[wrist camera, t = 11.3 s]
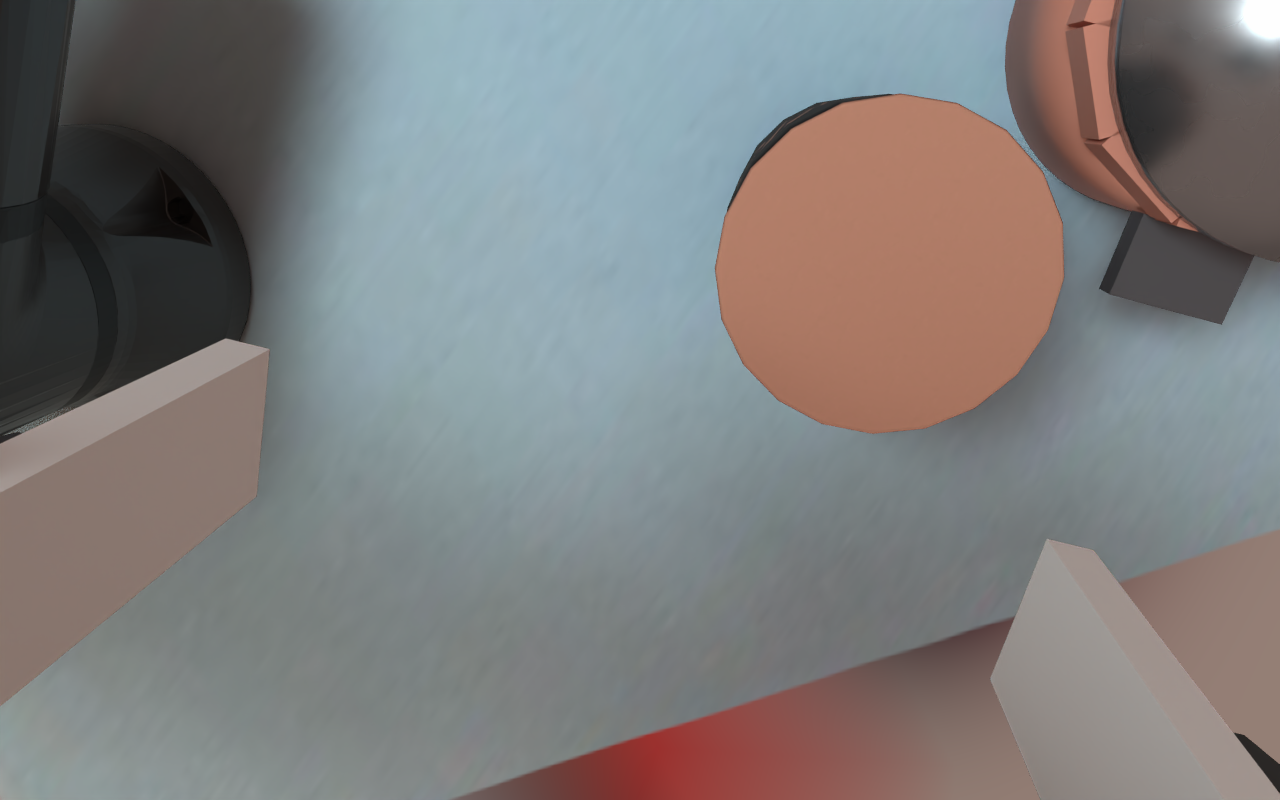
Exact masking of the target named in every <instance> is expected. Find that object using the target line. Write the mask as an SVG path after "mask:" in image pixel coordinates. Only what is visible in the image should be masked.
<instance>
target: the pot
mask: <svg viewBox="0 0 1280 800" xmlns="http://www.w3.org/2000/svg"><path fill="white" fill-rule="evenodd" d="M1114 3H1115V0H1016V1H1015V5H1014V8H1013V12H1012V15H1011V19H1010V22H1009V29H1008V35H1007V41H1006V55H1005V72H1006V82H1007V91H1008V95H1009V99H1010V103H1011V107H1012V111H1013V114H1014V116H1015V119H1016V121H1017V124H1018V126H1019V129H1020V131H1021V133H1022V135H1023V136H1024V138H1025V140H1026V142H1027V143H1028V145H1029V147H1030V148H1031V150H1032V151H1033V152H1034V153H1035V155H1036V156H1037V157H1038V159H1039V160H1040V161H1041V162H1042V164H1043V165H1044V166H1045V167H1046V168H1048V169H1049V170H1050V171H1051V172H1052V173H1053V174H1054V175H1055V176H1056V177H1057V178H1058V179H1060V180H1061V181H1063V182H1064V183H1065V184H1067V185H1068V186H1070V187H1071V188H1073V189H1074V190H1076V191H1078V192H1080V193H1082V194H1084V195H1086V196H1088V197H1090V198H1092V199H1094V200H1097V201H1100V202H1103V203H1106V204H1109V205H1112V206H1115V207H1119V208H1122V209H1125V210H1129V211H1132V212H1131V214H1130V217H1129V219H1128V221H1127V224H1126V226H1125V229H1124V231H1123V233H1122V236H1121V238H1120V240H1119V243H1118V245H1117V248H1116V250H1115V252H1114V255H1113V257H1112V259H1111V262H1110V264H1109V267H1108V269H1107V271H1106V274H1105V276H1104V278H1103V281H1102V283H1101V285H1100V288H1099V289H1101V290H1103V291H1105V292H1106V293H1108V294H1111V295H1114V296H1118V297H1122V298H1125V299H1129V300H1133V301H1136V302H1140V303H1144V304H1147V305H1151V306H1155V307H1159V308H1162V309H1166V310H1170V311H1173V312H1177V313H1181V314H1184V315H1188V316H1192V317H1195V318H1199V319H1203V320H1207V321H1210V322H1214V323H1218V324H1221V325H1222V323H1223V321H1224V319H1225V316H1226V314H1227V312H1228V310H1229V308H1230V306H1231V304H1232V302H1233V299H1234V297H1235V295H1236V293H1237V291H1238V289H1239V287H1240V285H1241V283H1242V280H1243V278H1244V276H1245V274H1246V272H1247V270H1248V268H1249V266H1250V263H1251V261H1252V259H1253V257H1254V255H1251V254H1248V253H1245V252H1243V251H1240V250H1237V249H1234V248H1231V247H1228V246H1225V245H1223V244H1221V243H1219V242H1217V241H1215V240H1213V239H1211V238H1209V237H1207V236H1205V235H1203V234H1201V233H1199V232H1198V231H1197V230H1195V229H1194V228H1192V227H1191V226H1190V225H1188V224H1187V223H1185V222H1184V221H1182V220H1181V219H1180V218H1178V217H1177V216H1176V215H1175V214H1174V213H1173V212H1172V211H1171V210H1169V209H1168V208H1167V207H1166V206H1165V205H1164V204H1163V203H1162V202H1161V201H1160V200H1159V199H1158V198H1157V197H1156V196H1155V194H1154V193H1153V192H1152V191H1151V189H1150V188H1149V187H1148V185H1147V184H1146V183H1145V181H1144V180H1143V179H1142V178H1141V176H1140V175H1139V173H1138V171H1137V170H1136V168H1135V166H1134V164H1133V162H1132V160H1131V159H1130V157H1129V155H1128V153H1127V151H1126V149H1125V147H1124V144H1123V141H1122V139H1121V136H1120V133H1119V131H1118V128H1117V125H1116V122H1115V117H1114V113H1113V108H1112V103H1111V99H1110V94H1109V81H1108V67H1107V58H1108V42H1109V29H1110V24H1111V19H1112V13H1113V8H1114Z"/></svg>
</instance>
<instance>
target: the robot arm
mask: <svg viewBox="0 0 1280 800" xmlns="http://www.w3.org/2000/svg"><path fill="white" fill-rule="evenodd" d="M75 1H76V0H0V706H1V705H2V704H4V703H5V702H6V701H7V700H8V699H10V698H11V697H12V696H13V695H15V694H16V693H17V692H18V691H19V690H21V689H22V688H23V687H24V686H26V685H27V684H28V683H29V682H30V681H32V680H33V679H34V678H35V677H37V676H38V675H39V674H40V673H41V672H43V671H44V670H45V669H46V668H47V667H49V666H50V665H51V664H52V663H54V662H55V661H56V660H57V659H58V658H60V657H61V656H62V655H63V654H65V653H66V652H67V651H68V650H69V649H71V648H72V647H73V646H74V645H76V644H77V643H78V642H79V641H80V640H82V639H83V638H84V637H85V636H87V635H88V634H89V633H90V632H91V631H93V630H94V629H95V628H96V627H98V626H99V625H100V624H101V623H102V622H104V621H105V620H106V619H107V618H109V617H110V616H111V615H112V614H113V613H115V612H116V611H117V610H118V609H120V608H121V607H122V606H123V605H124V604H126V603H127V602H128V601H129V600H131V599H132V598H133V597H134V596H135V595H137V594H138V593H139V592H140V591H142V590H143V589H144V588H145V587H146V586H148V585H149V584H150V583H151V582H153V581H154V580H155V579H156V578H157V577H159V576H160V575H161V574H162V573H164V572H165V571H166V570H167V569H168V568H170V567H171V566H172V565H173V564H175V563H176V562H177V561H178V560H179V559H181V558H182V557H183V556H184V555H185V554H187V553H188V552H189V551H190V550H192V549H193V548H194V547H195V546H196V545H198V544H199V543H200V542H201V541H203V540H204V539H205V538H206V537H207V536H209V535H210V534H211V533H212V532H214V531H215V530H216V529H217V528H218V527H220V526H221V525H222V524H223V523H225V522H226V521H227V520H228V519H229V518H231V517H232V516H233V515H234V514H236V513H237V512H238V511H239V510H240V509H242V508H243V507H244V506H245V505H247V504H248V503H249V502H250V501H251V500H253V499H254V498H255V497H256V496H257V487H258V476H259V465H260V453H261V442H262V431H263V420H264V409H265V397H266V386H267V375H268V364H269V353H270V349H267V348H263V347H259V346H255V345H251V344H247V343H243V342H239V339H240V337H241V334H242V332H243V329H244V326H245V323H246V319H247V315H248V310H249V303H250V271H249V264H248V259H247V254H246V250H245V246H244V243H243V240H242V237H241V234H240V231H239V229H238V226H237V224H236V222H235V220H234V218H233V216H232V214H231V212H230V210H229V208H228V206H227V205H226V203H225V201H224V200H223V198H222V197H221V195H220V194H219V192H218V191H217V190H216V188H215V187H214V186H213V185H212V183H211V182H210V181H209V180H208V179H207V178H206V176H205V175H204V174H203V173H202V172H201V171H200V170H199V169H198V168H197V167H196V166H195V165H194V164H192V163H191V162H190V161H189V160H188V159H187V158H185V157H184V156H183V155H182V154H180V153H179V152H177V151H176V150H174V149H173V148H172V147H170V146H168V145H167V144H165V143H163V142H161V141H160V140H158V139H156V138H153V137H151V136H149V135H147V134H144V133H142V132H139V131H136V130H133V129H129V128H125V127H121V126H114V125H104V124H87V125H64V126H58V122H59V115H60V108H61V101H62V94H63V87H64V80H65V72H66V65H67V58H68V51H69V44H70V37H71V30H72V22H73V15H74V8H75ZM64 407H78V408H76V409H74V410H71V411H69V412H67V413H65V414H63V415H61V416H59V417H56V418H54V419H52V420H50V421H48V422H46V423H44V424H41V425H39V426H37V427H35V428H33V429H31V430H29V431H26V432H24V433H19V432H17V433H13V434H8V435H4V434H7V433H9V432H11V431H13V430H15V429H18V428H20V427H22V426H24V425H26V424H29V423H31V422H33V421H35V420H37V419H39V418H42V417H44V416H46V415H48V414H50V413H52V412H55V411H57V410H60V409H62V408H64ZM2 435H4V436H2ZM990 681H991V683H992V685H993V688H994V690H995V693H996V695H997V697H998V700H999V702H1000V705H1001V707H1002V709H1003V711H1004V714H1005V716H1006V719H1007V721H1008V724H1009V726H1010V728H1011V731H1012V733H1013V736H1014V738H1015V740H1016V743H1017V745H1018V747H1019V750H1020V752H1021V755H1022V757H1023V759H1024V762H1025V764H1026V767H1027V769H1028V772H1029V774H1030V776H1031V779H1032V781H1033V783H1034V786H1035V788H1036V791H1037V793H1038V795H1039V798H1040V800H1280V764H1278V763H1277V762H1276V761H1275V760H1274V759H1272V758H1271V757H1270V756H1269V755H1267V754H1266V753H1265V752H1264V751H1263V750H1262V749H1260V748H1259V747H1258V746H1257V745H1256V744H1254V743H1253V742H1252V741H1251V740H1249V739H1248V738H1247V737H1246V736H1245V735H1241V734H1237V733H1233V732H1232V731H1231V729H1230V728H1229V727H1228V726H1227V724H1226V723H1225V721H1224V720H1223V719H1222V718H1221V716H1220V715H1219V714H1218V712H1217V711H1216V710H1215V708H1214V707H1213V706H1212V704H1211V703H1210V702H1209V700H1208V699H1207V698H1206V697H1205V695H1204V694H1203V693H1202V691H1201V690H1200V689H1199V687H1198V686H1197V685H1196V683H1195V682H1194V681H1193V680H1192V678H1191V677H1190V676H1189V674H1188V673H1187V672H1186V670H1185V669H1184V668H1183V666H1182V665H1181V664H1180V663H1179V661H1178V660H1177V659H1176V657H1175V656H1174V655H1173V653H1172V652H1171V651H1170V650H1169V648H1168V647H1167V646H1166V644H1165V643H1164V642H1163V640H1162V639H1161V638H1160V636H1159V635H1158V634H1157V633H1156V631H1155V630H1154V629H1153V627H1152V626H1151V625H1150V623H1149V622H1148V621H1147V620H1146V618H1145V617H1144V616H1143V614H1142V613H1141V612H1140V610H1139V609H1138V608H1137V606H1136V605H1135V604H1134V602H1133V601H1132V600H1131V598H1130V597H1129V596H1128V595H1127V593H1126V592H1125V591H1124V589H1123V588H1122V587H1121V585H1120V584H1119V583H1118V581H1117V580H1116V579H1115V578H1114V576H1113V575H1112V574H1111V572H1110V571H1109V570H1108V568H1107V567H1106V566H1105V564H1104V563H1103V562H1102V561H1101V559H1100V558H1099V557H1098V555H1097V554H1096V553H1095V551H1094V550H1091V549H1087V548H1083V547H1079V546H1074V545H1070V544H1066V543H1062V542H1058V541H1054V540H1050V539H1047V540H1046V542H1045V545H1044V547H1043V549H1042V552H1041V554H1040V557H1039V559H1038V562H1037V564H1036V567H1035V569H1034V572H1033V574H1032V577H1031V579H1030V582H1029V584H1028V586H1027V589H1026V591H1025V594H1024V596H1023V599H1022V601H1021V604H1020V606H1019V609H1018V611H1017V614H1016V616H1015V619H1014V621H1013V624H1012V626H1011V628H1010V631H1009V633H1008V636H1007V638H1006V641H1005V643H1004V646H1003V648H1002V651H1001V653H1000V656H999V658H998V661H997V663H996V665H995V668H994V671H993V673H992V675H991V678H990Z"/></svg>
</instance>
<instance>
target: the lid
mask: <svg viewBox="0 0 1280 800" xmlns="http://www.w3.org/2000/svg"><path fill="white" fill-rule="evenodd" d="M1107 67H1108V81H1109V94H1110V99H1111V103H1112V108H1113V113H1114V117H1115V122H1116V125H1117V128H1118V131H1119V133H1120V136H1121V139H1122V141H1123V144H1124V147H1125V149H1126V151H1127V153H1128V155H1129V157H1130V159H1131V160H1132V162H1133V164H1134V166H1135V168H1136V170H1137V171H1138V173H1139V175H1140V176H1141V178H1142V179H1143V180H1144V181H1145V183H1146V184H1147V185H1148V187H1149V188H1150V189H1151V191H1152V192H1153V193H1154V194H1155V196H1156V197H1157V198H1158V199H1159V200H1160V201H1161V202H1162V203H1163V204H1164V205H1165V206H1166V207H1167V208H1168V209H1169V210H1171V211H1172V212H1173V213H1174V214H1175V215H1176V216H1177V217H1178V218H1180V219H1181V220H1182V221H1184V222H1185V223H1187V224H1188V225H1190V226H1191V227H1192V228H1194V229H1195V230H1197V231H1198V232H1199V233H1201V234H1203V235H1205V236H1207V237H1209V238H1211V239H1213V240H1215V241H1217V242H1219V243H1221V244H1223V245H1225V246H1228V247H1231V248H1234V249H1237V250H1240V251H1243V252H1245V253H1248V254H1251V255H1254V256H1258V257H1261V258H1264V259H1267V260H1270V261H1276V262H1280V0H1115V3H1114V8H1113V13H1112V19H1111V24H1110V29H1109V42H1108V58H1107Z"/></svg>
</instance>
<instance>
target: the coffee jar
mask: <svg viewBox="0 0 1280 800" xmlns="http://www.w3.org/2000/svg"><path fill="white" fill-rule="evenodd" d="M715 273H716V281H717V289H718V296H719V304H720V311H721V319H722V321H723V323H724V325H725V328H726V330H727V332H728V334H729V336H730V338H731V340H732V342H733V344H734V346H735V348H736V350H737V352H738V354H739V357H740V359H741V361H742V363H743V365H744V366H745V367H746V368H747V369H748V370H749V371H750V372H751V373H752V374H753V375H754V376H755V377H756V378H757V379H758V380H759V381H760V382H761V383H762V384H763V385H764V386H765V387H766V388H767V389H768V390H769V392H770V393H771V394H772V395H773V396H774V397H775V398H776V399H777V400H778V401H780V402H782V403H784V404H786V405H788V406H790V407H792V408H793V409H795V410H797V411H799V412H801V413H803V414H805V415H806V416H808V417H810V418H812V419H814V420H816V421H818V422H820V423H821V424H825V425H831V426H836V427H841V428H846V429H851V430H856V431H861V432H867V433H872V434H874V433H884V432H894V431H905V430H915V429H925V428H927V427H930V426H932V425H935V424H937V423H940V422H942V421H945V420H947V419H949V418H952V417H954V416H957V415H959V414H962V413H964V412H967V411H969V410H972V409H974V408H975V407H977V406H978V405H979V404H981V403H982V402H983V401H984V400H986V399H987V398H988V397H989V396H991V395H992V394H993V393H994V392H996V391H997V390H998V389H1000V388H1001V387H1002V386H1003V385H1005V384H1006V383H1007V382H1008V381H1010V380H1011V379H1012V378H1013V377H1015V376H1016V375H1017V374H1018V372H1019V371H1020V369H1021V368H1022V367H1023V365H1024V364H1025V362H1026V361H1027V359H1028V358H1029V356H1030V355H1031V354H1032V352H1033V351H1034V349H1035V348H1036V346H1037V345H1038V344H1039V342H1040V341H1041V339H1042V338H1043V336H1044V335H1045V333H1046V332H1047V331H1048V328H1049V325H1050V321H1051V318H1052V315H1053V312H1054V309H1055V305H1056V302H1057V299H1058V296H1059V292H1060V289H1061V286H1062V283H1063V280H1064V253H1063V222H1062V220H1061V217H1060V214H1059V212H1058V209H1057V207H1056V204H1055V202H1054V199H1053V196H1052V194H1051V191H1050V189H1049V186H1048V183H1047V181H1046V178H1045V176H1044V173H1043V171H1042V170H1041V169H1040V168H1039V167H1038V165H1037V164H1036V163H1035V162H1034V161H1033V160H1032V159H1031V158H1030V156H1029V155H1028V154H1027V153H1026V152H1025V151H1024V150H1023V148H1022V147H1021V146H1020V145H1019V144H1018V143H1017V142H1016V140H1015V139H1014V138H1013V137H1012V136H1011V135H1010V134H1009V132H1008V131H1007V130H1005V129H1003V128H1002V127H1000V126H998V125H996V124H994V123H993V122H991V121H989V120H987V119H985V118H983V117H982V116H980V115H978V114H976V113H974V112H973V111H971V110H969V109H967V108H965V107H963V106H962V105H960V104H958V103H954V102H948V101H942V100H936V99H930V98H924V97H918V96H912V95H906V94H895V95H893V94H884V95H873V96H862V97H852V98H845V99H839V100H833V101H827V102H820V103H816V104H814V105H812V106H810V107H808V108H806V109H804V110H802V111H800V112H798V113H796V114H794V115H792V116H790V117H788V118H786V119H784V120H783V121H782V122H781V123H780V124H779V125H778V126H777V127H776V128H775V129H774V130H773V131H772V132H771V133H770V134H769V135H768V136H767V137H766V138H765V139H764V140H763V141H761V142H760V143H759V144H758V145H757V147H756V149H755V151H754V153H753V154H752V156H751V158H750V160H749V162H748V164H747V166H746V167H745V169H744V171H743V173H742V175H741V177H740V179H739V181H738V184H737V186H736V189H735V191H734V194H733V196H732V199H731V201H730V203H729V206H728V209H727V213H726V215H725V217H724V223H723V228H722V233H721V239H720V244H719V249H718V255H717V260H716V265H715Z"/></svg>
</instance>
